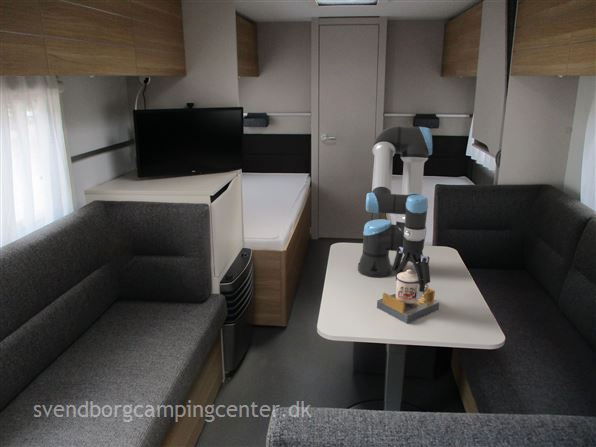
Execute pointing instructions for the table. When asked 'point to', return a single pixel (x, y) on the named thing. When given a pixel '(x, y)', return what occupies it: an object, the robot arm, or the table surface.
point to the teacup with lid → (407, 287)
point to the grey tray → (408, 306)
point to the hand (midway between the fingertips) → (409, 293)
